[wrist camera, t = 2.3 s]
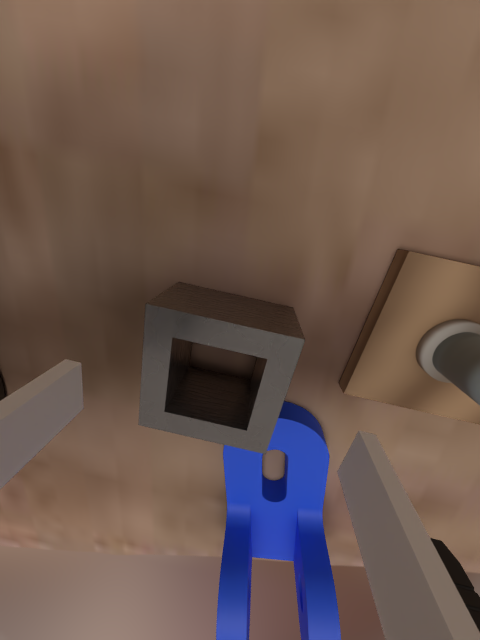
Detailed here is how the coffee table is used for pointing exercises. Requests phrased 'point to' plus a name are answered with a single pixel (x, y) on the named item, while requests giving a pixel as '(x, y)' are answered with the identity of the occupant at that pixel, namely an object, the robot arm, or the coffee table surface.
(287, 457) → the bracket
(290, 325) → the gray square frame
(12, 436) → the robot arm
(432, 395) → the peg stand
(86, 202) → the coffee table surface
